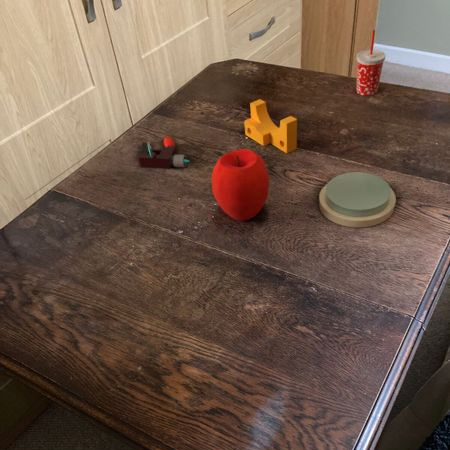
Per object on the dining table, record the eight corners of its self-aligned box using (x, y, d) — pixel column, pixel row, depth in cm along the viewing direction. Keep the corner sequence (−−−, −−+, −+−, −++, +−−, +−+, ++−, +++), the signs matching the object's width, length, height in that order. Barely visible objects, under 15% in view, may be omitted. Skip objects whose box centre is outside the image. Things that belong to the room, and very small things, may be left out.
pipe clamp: (245, 134, 107) (243, 106, 102) (261, 127, 108) (260, 99, 104) (280, 156, 100) (279, 127, 95) (296, 148, 101) (297, 119, 97)
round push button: (406, 195, 88) (409, 181, 85) (374, 236, 81) (377, 222, 79) (339, 175, 93) (341, 161, 91) (305, 213, 87) (305, 199, 85)
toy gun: (189, 171, 99) (185, 149, 96) (133, 169, 102) (128, 147, 98) (200, 145, 106) (197, 124, 102) (148, 144, 108) (143, 123, 105)
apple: (236, 191, 93) (231, 132, 84) (281, 206, 89) (280, 145, 80) (205, 220, 88) (195, 161, 79) (251, 238, 84) (246, 177, 75)
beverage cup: (349, 91, 116) (355, 27, 105) (375, 88, 116) (383, 23, 106) (357, 103, 112) (363, 37, 101) (383, 99, 112) (393, 33, 101)
